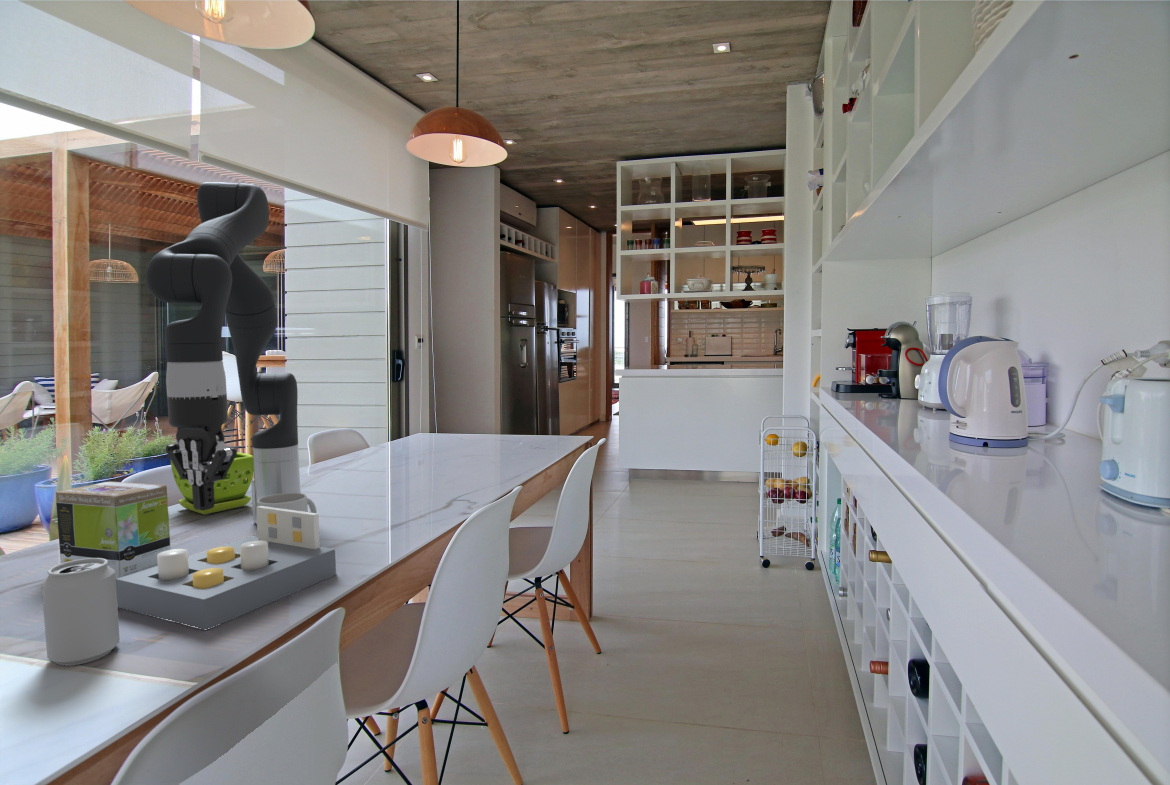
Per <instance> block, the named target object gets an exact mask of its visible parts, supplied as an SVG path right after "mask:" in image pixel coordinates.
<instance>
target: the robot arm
mask: <svg viewBox="0 0 1170 785" xmlns="http://www.w3.org/2000/svg"><path fill="white" fill-rule="evenodd" d="M196 202H197V210H198V215H199V219H200V224H199V225H197V226H196V227H194V228H193V229H192V230H191V231H190V233H189V234H188V235H187V236H186V238H185V239H184V240H183V241H181V242H177V243H174V244H172V245H171V246H169V247H166V248H163V249H162V250H160V251H158V252H157V253H156V254H155V255H153V256H152V257H151V260H150V261H149V262H148V264H147V267H146V268H145V269H146V270H145V276H144V277H145V283H146V287H147V289H148V291H149V292H150V294H151V295H152V296H153V297H154V298H156V299H157V300H158V301H160V302H163V303H167V304H201V308H200V310H199V311H198V312H197V314H196V315H195V316H194V317H190V318H186V319H181V320H175V321H171V322H170V323H168V324H167V325H166V327H165V349H166V351H165V352H166V361H167V362H166V374H165V376H166V377H165V378H166V379H165V383H166V384H165V385H166V397H167V415H168V416H167V417H168V424H169V426H171V427H172V428H177V431H176V434H175V440H176V441H175V442H174V443H173V444H170V445H169V444H168V445H166V446H165V451H166V453H167V455H168V457H169V459H170V462H171V461H172V463H173V464H174V466H175V468H176V470H177V472H178V474H179V475H180V477H181V479H182V480H184V479H187V480H188V481H189V484H190V485H192V493H193V503H194V509H196V510H202V511H204V510H208V509H211V508H213V507H214V502H215V499H214V483H215V482H216V481H218V480H223V479H224V478H225V476H226V474H227V472H228V470H229V468H230V466H231V464H232V462H233V460H234V458H235V456H236V455H237V452H238V451H237V449H236V448H235V447H229V446H227V444H226V443H225V438H226V437H225V434H224V432H223V428H222V427H223V425H224V424H226V423H227V422H228V421H229V412H228V411H229V410H228V397H227V396H228V394H227V392H228V391H227V379H226V372H225V367H224V362H223V360H224V359H223V358H224V356H223V339H222V338H223V337H222V335H223V325H224V319H225V321H226V324H227V327H228V331H229V332H228V333H229V335H230V339H231V344H232V346H233V351H234V356H235V360H236V361H235V362H236V368H237V376H238V382H239V390H240V395H241V397H240V398H241V403H242V406H243V407H244V410H245V411H246V413H248V414H249V415H251V416H276V415H277V416H278V415H280V418H279V421H278V422H276V423H275V424H274V425H271V426H270V427H268V428H266V429H262V430H260V431H257V432H255V433H254V434H253V435H252V438H251V446H252V455H253V468H254V472H253V479H252V481H251V484H250V487H251V501H252V502H251V504H252V522H253V523H254V524H256V525H257V511H256V507H257V500H258V499H259V498H262V497H264V496H268V495H273V494H280V493H302V492H301V478H300V477H301V475H300V474H301V473H300V461H299V460H300V454H299V453H300V452H299V435H298V433H299V431H298V400H299V398H298V396H299V395H298V383H297V379H296V377H295V375H294V374H292V373H289V372H263V373H261V372H260V373H259V371H258V369H257V364H258V361H259V359H260V357H261V355H262V352H263V351H264V350H265V347H266V346H267V345H268V343H269V342H270V341H271V339H272V337H273V335H274V333H275V331H276V330H277V326H278V316H277V310H276V303H275V298H274V294H273V291H272V289H271V288H270V287H269V285H268V284H267V283H266V281H265V280H264V279H263V278H262V277H261V276H260V275H259V274H258V273H257V271H255V270H254V269H253V268H252V267H251V265H249V264H248V263H247V262H246V261H245V260H244V259H243V257H242V256H241V254H240V252H241V251H242V250H244V249H245V247H247V246H249V244H251V243H253V241H255V240H256V239H257V238H259V237H260V236H262V234H264V232H265V231H266V229H267V227H268V225H269V221H270V208H269V200H268V198H267V195H266V193H265V191H264V189H262V188H261V187H260V186H259V185H256V184H253V183H244V182H240V183H239V182H224V181H223V182H221V181H207V182H202V183H201V184H200V185H199V186H198V188H197V192H196ZM186 470H187V471H186Z"/></svg>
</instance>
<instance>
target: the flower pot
mask: <svg viewBox="0 0 1170 785" xmlns="http://www.w3.org/2000/svg"><path fill="white" fill-rule="evenodd" d="M170 466H171V472H172V475H173V479H174V481H175V484H176V487H177V488H178V490H179V492H180V493H181V495H182V496H183V498H181V499H179V500H178V504H179V505H181V507H182V508H185V509H187V510H188V511H192V512H195V513H198V514H201V515H203V516H205V515H209V514H213V513H218V512H223V511H228V510H233V509H236V508H244V506H246V505H247V504H248V503H249V502H250V501H252V496H250V495H246V494H247V492H248V491H249V488H250V487H251V482H252V480H253V478H254V468H253V454H252V455H251V454H250V453H243V452H239V451H237V455H236V456H235V458H234V460H233V462H232V464H231V466H230V468H229V470H228V472H227V474H226V476H225V478H224V479H223V480H218V481H216V482H215V483H214V499H215V502H214V507H213V508H211V509H208V510H204V511H202V510H196V509H194V503H193V493H192V485H190V484H189V481H188V480H187V479H184V480H182V479H181V477H180V475H179V474H178V472H177V470H176V468H175V466H174V464H173V463H172V461H171V460H170ZM186 471H187V470H186Z"/></svg>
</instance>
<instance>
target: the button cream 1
mask: <svg viewBox="0 0 1170 785" xmlns="http://www.w3.org/2000/svg"><path fill="white" fill-rule="evenodd" d="M188 553H189V552H188V549H186V548H173V549H171V550H167V551H163V552H161V553H159V554H157V562H158V577H159V580H164V581H171V580H174V579H177V578H180V577H183V576H186V575H189V566H188V556H189V554H188Z"/></svg>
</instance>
